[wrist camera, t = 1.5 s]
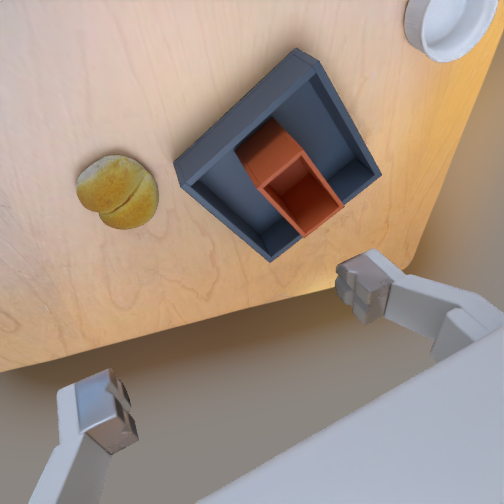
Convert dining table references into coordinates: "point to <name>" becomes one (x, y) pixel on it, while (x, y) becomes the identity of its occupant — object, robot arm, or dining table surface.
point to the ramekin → (447, 26)
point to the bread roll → (119, 192)
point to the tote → (288, 178)
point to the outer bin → (300, 129)
